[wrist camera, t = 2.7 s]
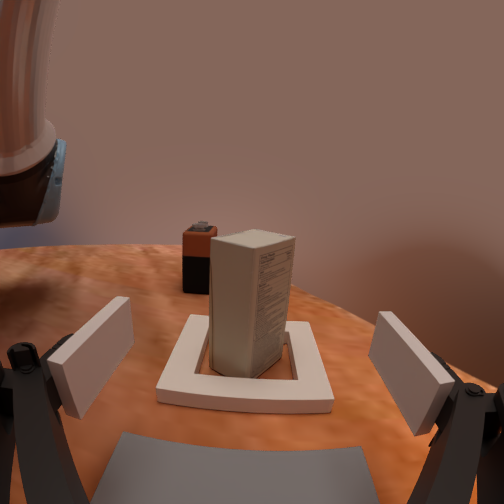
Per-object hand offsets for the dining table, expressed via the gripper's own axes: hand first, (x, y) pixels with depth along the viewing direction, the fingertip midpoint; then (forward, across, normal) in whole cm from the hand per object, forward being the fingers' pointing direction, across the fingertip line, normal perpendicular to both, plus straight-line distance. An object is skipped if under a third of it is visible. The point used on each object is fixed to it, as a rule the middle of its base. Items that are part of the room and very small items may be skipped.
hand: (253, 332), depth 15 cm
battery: (+30, -8, -9) cm, 33 cm away
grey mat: (-7, 0, -9) cm, 11 cm away
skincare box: (+10, 0, -9) cm, 14 cm away
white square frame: (+10, 0, -9) cm, 14 cm away
